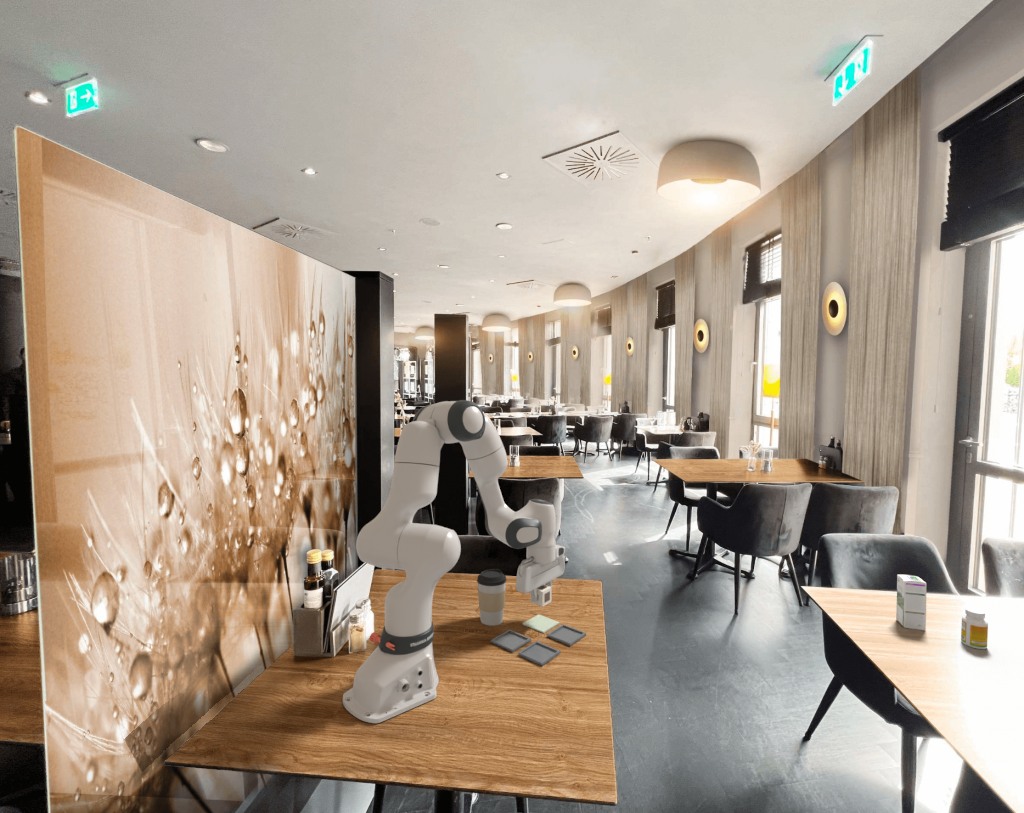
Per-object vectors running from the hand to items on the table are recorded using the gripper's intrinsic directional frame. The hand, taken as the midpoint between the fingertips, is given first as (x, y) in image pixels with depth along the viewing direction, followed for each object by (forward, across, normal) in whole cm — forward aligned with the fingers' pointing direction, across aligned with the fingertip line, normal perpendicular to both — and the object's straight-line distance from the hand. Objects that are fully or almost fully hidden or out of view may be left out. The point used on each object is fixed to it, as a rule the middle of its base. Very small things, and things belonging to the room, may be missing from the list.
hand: (540, 597), depth 151 cm
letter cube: (+1, 0, 0) cm, 1 cm away
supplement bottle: (+8, +69, -100) cm, 122 cm away
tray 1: (+8, -14, 0) cm, 16 cm away
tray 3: (+8, -1, -10) cm, 13 cm away
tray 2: (+8, -14, -10) cm, 19 cm away
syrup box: (+8, +72, -86) cm, 112 cm away
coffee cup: (+8, -8, +13) cm, 17 cm away
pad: (+8, 0, 0) cm, 8 cm away
